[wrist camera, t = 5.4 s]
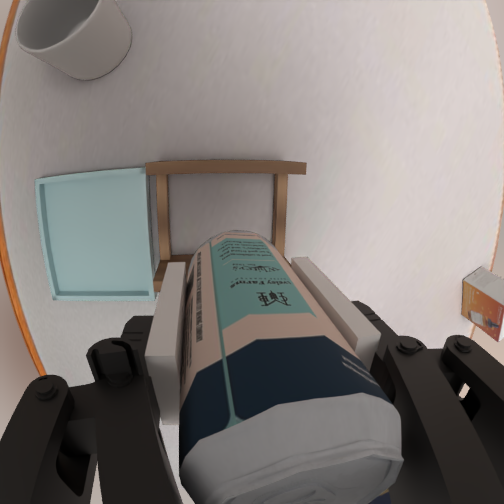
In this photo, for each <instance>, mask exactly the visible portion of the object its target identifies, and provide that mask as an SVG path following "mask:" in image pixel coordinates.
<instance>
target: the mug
mask: <svg viewBox="0 0 504 504" xmlns="http://www.w3.org/2000/svg"><path fill="white" fill-rule="evenodd" d="M15 35H16V40H17V43H18V44H19V46H20V47H21V48H22V49H23V50H24V51H26V52H27V53H29V54H31V55H33V56H35V57H37V58H39V59H41V60H43V61H44V62H46V63H48V64H50V65H52V66H54V67H56V68H57V69H59V70H61V71H63V72H64V73H66V74H67V75H69V76H71V77H73V78H75V79H79V80H91V79H95V78H99V77H101V76H103V75H105V74H107V73H109V72H110V71H112V70H113V69H114V68H115V67H116V66H117V65H119V64H120V62H121V61H122V60H123V59H124V57H125V56H126V54H127V52H128V50H129V48H130V45H131V40H132V32H131V28H130V25H129V23H128V22H127V20H126V18H125V17H124V15H123V14H122V12H121V10H120V8H119V7H118V5H117V3H116V1H115V0H28V1H27V3H26V4H25V6H24V7H23V9H22V11H21V13H20V15H19V18H18V20H17V24H16V31H15Z"/></svg>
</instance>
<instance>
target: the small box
mask: <svg viewBox="0 0 504 504" xmlns="http://www.w3.org/2000/svg"><path fill="white" fill-rule="evenodd" d="M461 314H462V315H463V316H464V317H466V318H467V319H468V320H470V321H471V322H472V323H474V324H475V325H476V326H478V327H479V328H480V329H482V330H483V331H484V332H485V333H487V334H488V335H489V336H491V337H492V338H493V339H495V340H496V341H497V342H499V341H500V340H501V339H502V338H504V279H503V278H501V277H499V276H498V275H496V274H494V273H492V272H490V271H489V270H487V269H485V268H483V267H480V268H479V269H477V270H476V271H475V272H473V273H472V274H471V275H469V276H468V277H466V278H465V279H464V280H463V303H462V313H461Z"/></svg>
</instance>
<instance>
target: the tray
mask: <svg viewBox="0 0 504 504" xmlns="http://www.w3.org/2000/svg"><path fill="white" fill-rule="evenodd" d="M35 194H36V206H37V215H38V224H39V231H40V238H41V245H42V251H43V256H44V262H45V267H46V272H47V277H48V281H49V286H50V290H51V294H52V298H53V300H67V301H155V299H156V295H157V292H154V288H153V279H154V277H155V269H154V258H153V246H152V233H151V216H150V194H149V175H146V167H139V168H125V169H113V170H102V171H92V172H83V173H74V174H66V175H58V176H51V177H44V178H39V179H35Z"/></svg>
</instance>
